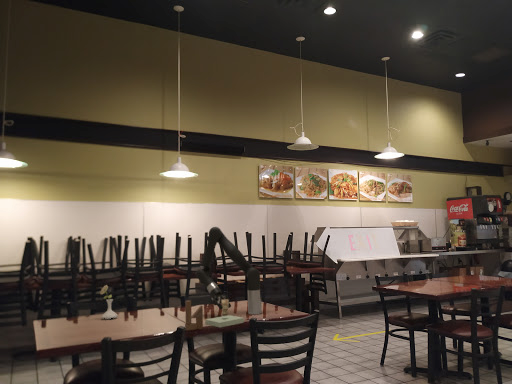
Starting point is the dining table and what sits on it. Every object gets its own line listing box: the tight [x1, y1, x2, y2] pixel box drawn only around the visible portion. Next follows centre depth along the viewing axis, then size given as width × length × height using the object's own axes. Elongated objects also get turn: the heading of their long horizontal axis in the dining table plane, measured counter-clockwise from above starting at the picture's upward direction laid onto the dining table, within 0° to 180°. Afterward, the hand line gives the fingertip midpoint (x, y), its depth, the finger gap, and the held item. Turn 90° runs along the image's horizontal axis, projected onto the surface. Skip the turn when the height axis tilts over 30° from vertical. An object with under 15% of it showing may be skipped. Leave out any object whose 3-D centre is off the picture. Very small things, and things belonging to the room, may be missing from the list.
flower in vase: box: [99, 284, 119, 320], centre depth 313 cm, size 13×11×25 cm
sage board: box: [205, 314, 245, 328], centre depth 281 cm, size 20×16×3 cm
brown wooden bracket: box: [184, 299, 204, 332], centre depth 267 cm, size 4×11×18 cm, turn 113°
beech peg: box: [220, 299, 230, 316], centre depth 298 cm, size 5×5×13 cm
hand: (226, 307), depth 298 cm, fingers open, 8 cm apart
